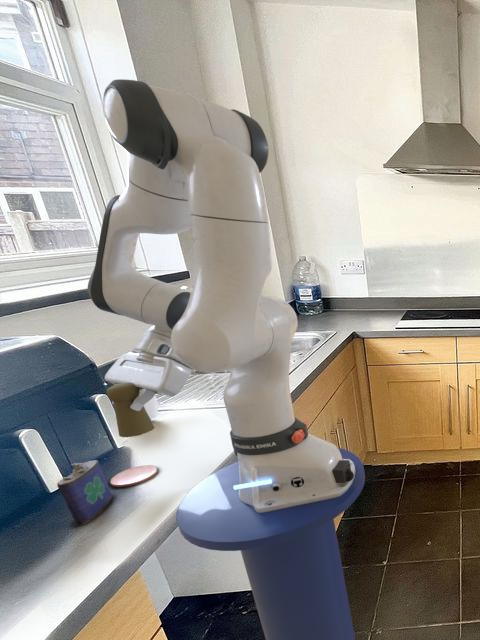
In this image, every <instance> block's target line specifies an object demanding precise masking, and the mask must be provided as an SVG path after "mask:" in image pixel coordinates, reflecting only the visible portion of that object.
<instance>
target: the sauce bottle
mask: <svg viewBox="0 0 480 640" xmlns="http://www.w3.org/2000/svg"><path fill="white" fill-rule="evenodd" d="M140 391H141V390H140ZM144 408H145V410H146V412H147V414H148V415H149V417H150V419H151V421H152V422H153V421H154V419H155V418H156V417H157V416H158V412H159V401H158V398H157V394H155V395H154V397H153V398H152V399H151V400H150V401H148V402H147V403H146V404H144Z"/></svg>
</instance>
